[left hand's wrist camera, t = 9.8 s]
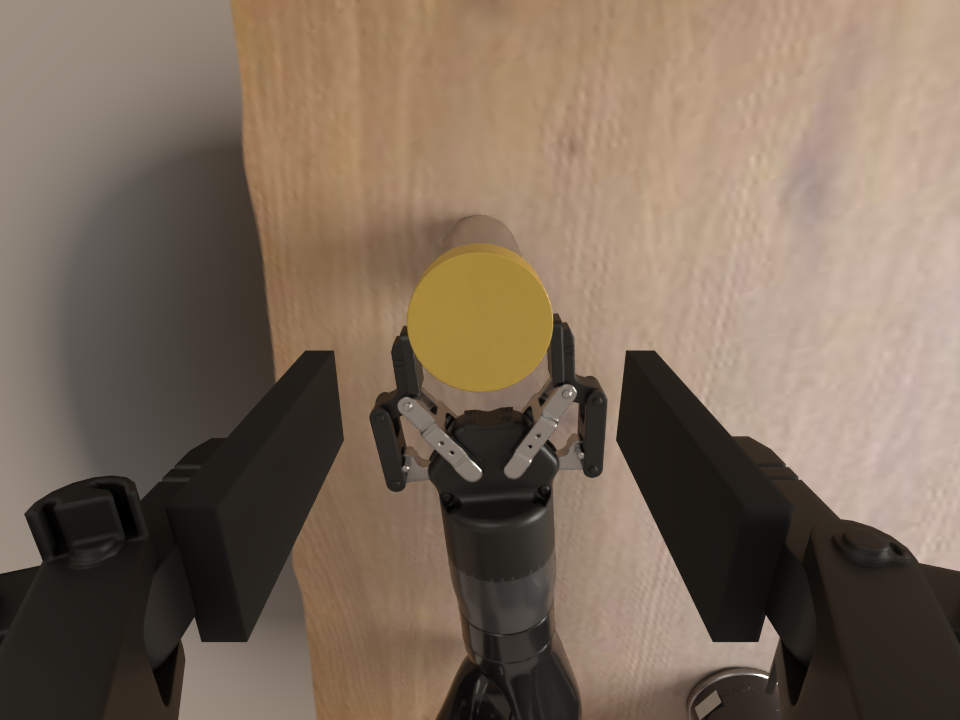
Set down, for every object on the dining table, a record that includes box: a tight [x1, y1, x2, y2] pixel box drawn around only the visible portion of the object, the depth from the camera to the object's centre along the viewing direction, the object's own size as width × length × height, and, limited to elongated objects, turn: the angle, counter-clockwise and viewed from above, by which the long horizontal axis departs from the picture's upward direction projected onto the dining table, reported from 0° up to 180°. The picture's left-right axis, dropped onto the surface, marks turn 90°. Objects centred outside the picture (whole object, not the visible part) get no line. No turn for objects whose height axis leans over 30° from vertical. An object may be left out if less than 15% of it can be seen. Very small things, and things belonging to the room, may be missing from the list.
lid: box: [407, 243, 553, 392], centre depth 21 cm, size 6×6×2 cm
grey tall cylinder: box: [438, 215, 522, 257], centre depth 28 cm, size 5×5×16 cm
